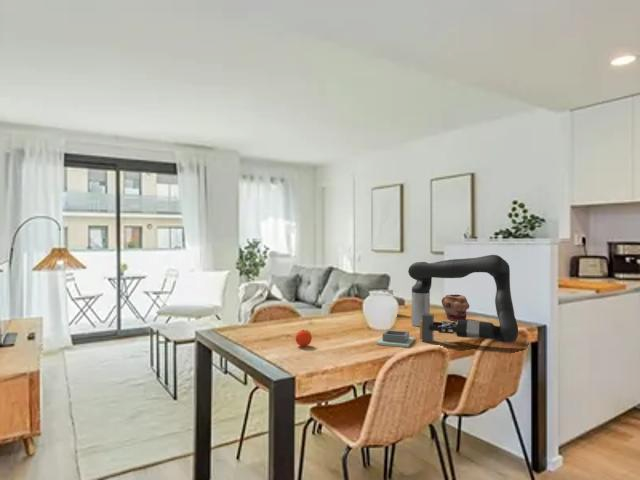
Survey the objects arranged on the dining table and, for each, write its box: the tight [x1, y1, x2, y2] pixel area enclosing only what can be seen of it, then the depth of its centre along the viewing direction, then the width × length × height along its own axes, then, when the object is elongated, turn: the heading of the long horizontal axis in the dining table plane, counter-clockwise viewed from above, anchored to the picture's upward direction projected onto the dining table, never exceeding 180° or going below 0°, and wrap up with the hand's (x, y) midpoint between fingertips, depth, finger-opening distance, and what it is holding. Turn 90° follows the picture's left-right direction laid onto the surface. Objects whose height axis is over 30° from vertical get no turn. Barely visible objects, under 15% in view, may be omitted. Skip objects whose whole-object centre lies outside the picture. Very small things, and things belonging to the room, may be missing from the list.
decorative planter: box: [441, 294, 470, 322], centre depth 257 cm, size 20×12×14 cm, turn 32°
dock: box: [375, 329, 416, 348], centre depth 204 cm, size 16×14×4 cm
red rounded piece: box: [295, 329, 312, 347], centre depth 196 cm, size 8×7×7 cm
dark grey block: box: [419, 313, 435, 344], centre depth 206 cm, size 4×6×12 cm
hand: (430, 325), depth 205 cm, fingers open, 8 cm apart
